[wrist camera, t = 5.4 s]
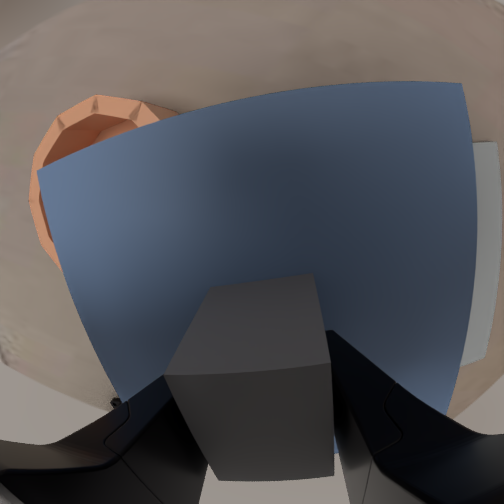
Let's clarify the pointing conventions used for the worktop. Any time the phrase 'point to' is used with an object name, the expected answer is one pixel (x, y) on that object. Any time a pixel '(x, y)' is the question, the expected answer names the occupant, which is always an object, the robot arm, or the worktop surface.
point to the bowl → (84, 142)
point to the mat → (485, 250)
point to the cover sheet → (275, 259)
